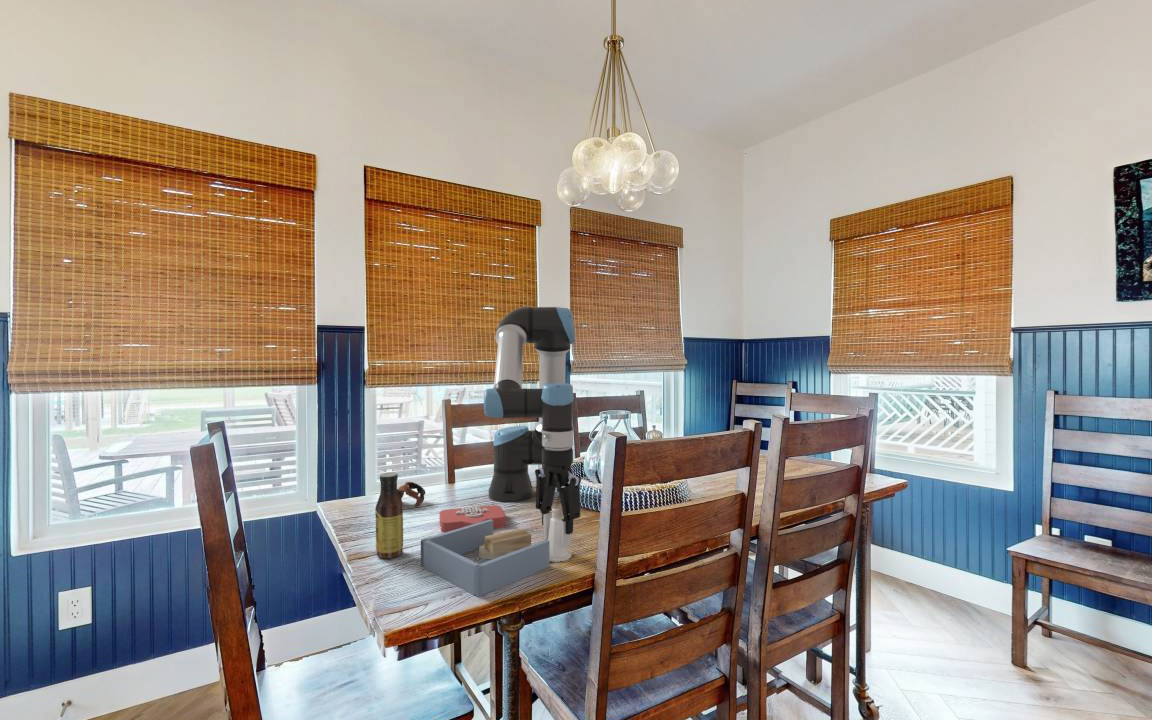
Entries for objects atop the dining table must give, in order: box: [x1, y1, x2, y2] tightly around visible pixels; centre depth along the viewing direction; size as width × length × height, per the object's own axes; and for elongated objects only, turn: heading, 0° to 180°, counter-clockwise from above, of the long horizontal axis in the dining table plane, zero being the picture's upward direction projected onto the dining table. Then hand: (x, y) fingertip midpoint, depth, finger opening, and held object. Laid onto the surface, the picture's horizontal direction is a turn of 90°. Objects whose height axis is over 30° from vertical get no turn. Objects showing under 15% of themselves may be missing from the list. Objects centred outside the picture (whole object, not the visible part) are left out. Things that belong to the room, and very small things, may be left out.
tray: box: [420, 519, 550, 598], centre depth 119 cm, size 20×22×6 cm
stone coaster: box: [549, 549, 573, 563], centre depth 125 cm, size 7×7×1 cm
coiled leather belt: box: [397, 481, 426, 508], centre depth 164 cm, size 12×10×8 cm
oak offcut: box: [485, 528, 532, 555], centre depth 124 cm, size 5×10×3 cm, turn 122°
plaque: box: [439, 504, 507, 533], centre depth 147 cm, size 18×4×15 cm
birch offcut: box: [478, 543, 522, 560], centre depth 124 cm, size 5×13×3 cm, turn 71°
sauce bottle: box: [374, 471, 404, 559], centre depth 125 cm, size 7×6×20 cm
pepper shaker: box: [548, 506, 568, 558], centre depth 125 cm, size 5×5×11 cm
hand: (557, 542), depth 125 cm, fingers open, 5 cm apart
